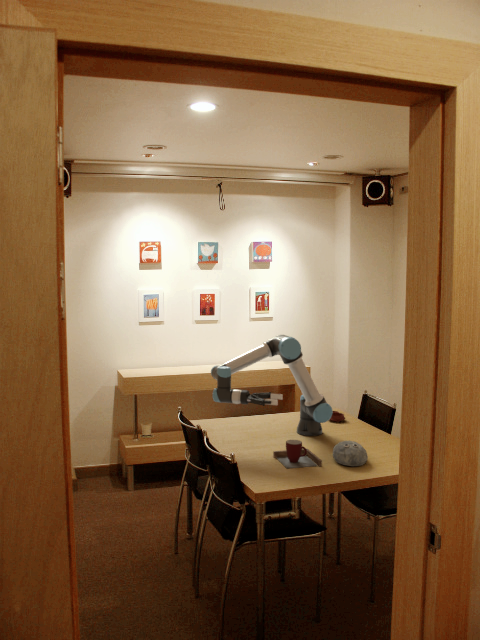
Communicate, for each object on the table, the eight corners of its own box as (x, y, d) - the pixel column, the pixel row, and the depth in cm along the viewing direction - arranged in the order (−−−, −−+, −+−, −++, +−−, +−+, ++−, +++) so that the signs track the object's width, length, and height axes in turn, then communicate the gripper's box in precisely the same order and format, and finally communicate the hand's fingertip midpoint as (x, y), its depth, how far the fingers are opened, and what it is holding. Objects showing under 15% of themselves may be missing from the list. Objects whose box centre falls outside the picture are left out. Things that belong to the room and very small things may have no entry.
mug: (303, 458, 282) (303, 438, 281) (308, 463, 274) (309, 443, 273) (283, 459, 280) (283, 440, 279) (288, 464, 272) (288, 444, 271)
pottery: (328, 423, 351) (328, 416, 350) (324, 415, 371) (324, 408, 370) (346, 423, 350) (346, 416, 350) (342, 415, 370) (342, 409, 370)
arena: (307, 454, 289) (307, 448, 289) (321, 466, 271) (321, 460, 271) (273, 456, 284) (273, 451, 284) (285, 469, 266) (285, 463, 266)
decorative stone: (366, 456, 288) (366, 437, 287) (369, 469, 267) (369, 449, 267) (332, 453, 291) (332, 435, 290) (332, 467, 270) (333, 447, 269)
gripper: (246, 398, 309) (284, 401, 303) (234, 409, 285) (275, 412, 279) (247, 385, 308) (284, 388, 302) (235, 394, 284) (275, 397, 278)
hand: (280, 399), depth 291 cm, fingers open, 13 cm apart
